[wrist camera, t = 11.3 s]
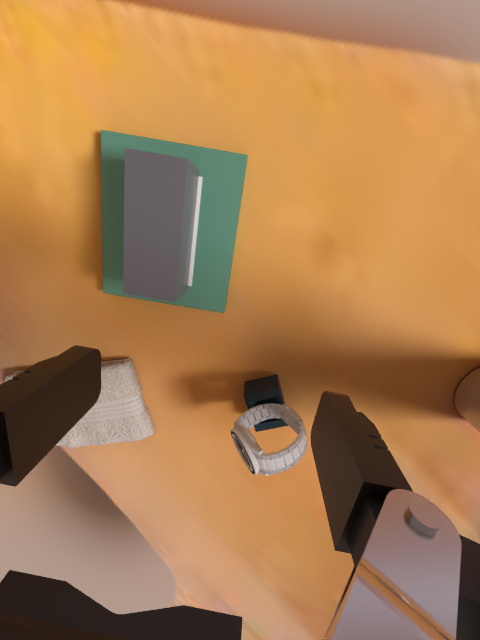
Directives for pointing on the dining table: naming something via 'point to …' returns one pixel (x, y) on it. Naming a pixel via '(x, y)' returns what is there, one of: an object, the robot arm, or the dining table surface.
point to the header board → (209, 225)
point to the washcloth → (112, 409)
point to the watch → (267, 427)
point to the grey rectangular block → (158, 224)
